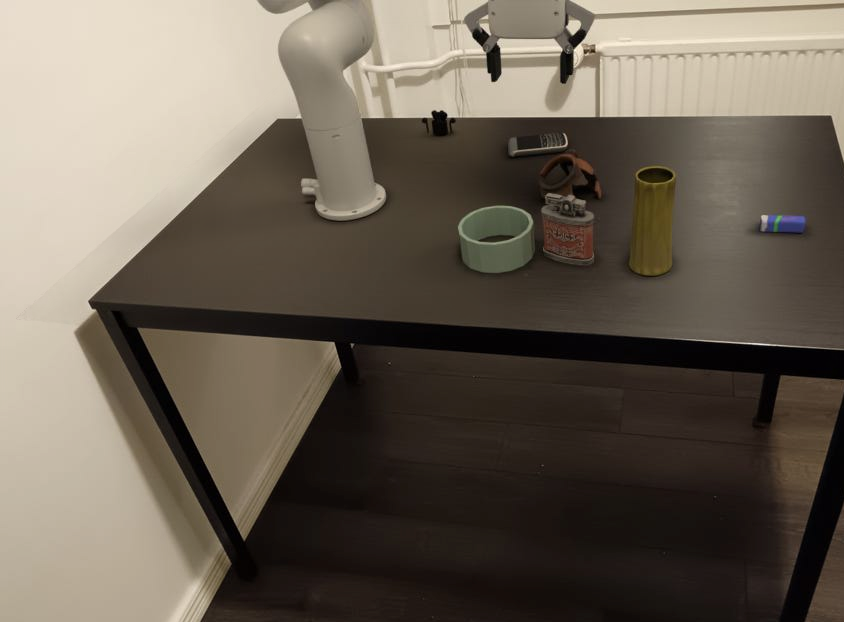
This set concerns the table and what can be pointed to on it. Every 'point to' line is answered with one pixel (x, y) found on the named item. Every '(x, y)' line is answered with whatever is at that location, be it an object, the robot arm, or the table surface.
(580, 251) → the lighter
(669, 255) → the vase
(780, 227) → the eraser
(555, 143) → the cell phone
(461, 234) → the pale green hollow ring
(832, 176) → the table surface
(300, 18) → the robot arm
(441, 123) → the wireless earbuds
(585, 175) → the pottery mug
